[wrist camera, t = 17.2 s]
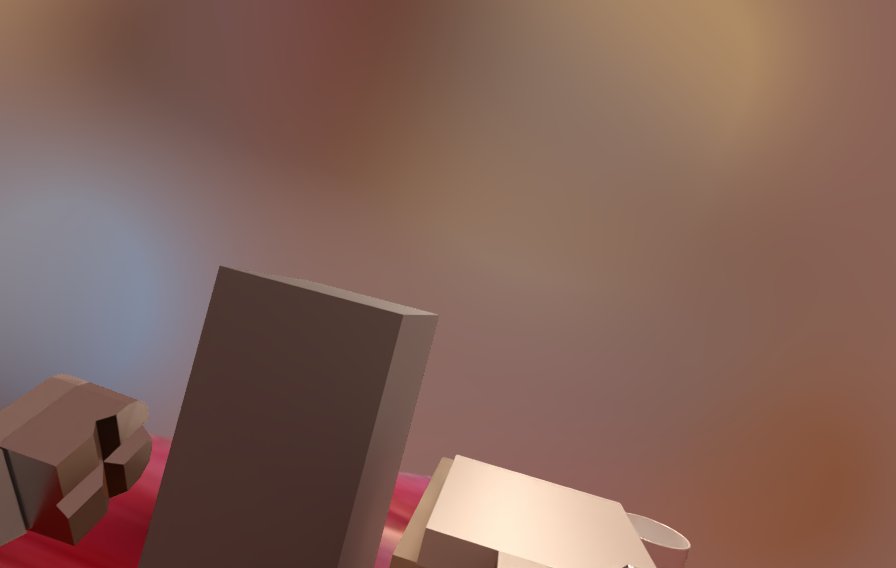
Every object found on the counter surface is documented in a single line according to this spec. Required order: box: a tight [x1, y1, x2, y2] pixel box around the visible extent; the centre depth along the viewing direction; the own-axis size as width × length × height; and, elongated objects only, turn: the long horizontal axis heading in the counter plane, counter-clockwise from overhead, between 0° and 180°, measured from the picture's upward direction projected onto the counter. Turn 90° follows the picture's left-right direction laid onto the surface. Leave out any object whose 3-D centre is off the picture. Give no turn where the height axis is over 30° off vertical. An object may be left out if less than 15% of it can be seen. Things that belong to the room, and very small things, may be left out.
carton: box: [138, 266, 439, 568], centre depth 42 cm, size 12×16×26 cm
